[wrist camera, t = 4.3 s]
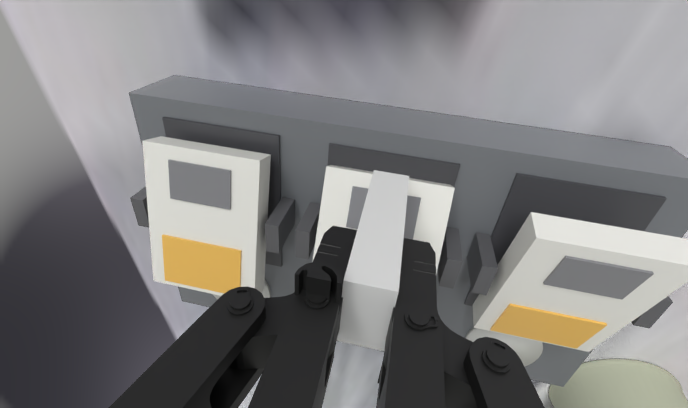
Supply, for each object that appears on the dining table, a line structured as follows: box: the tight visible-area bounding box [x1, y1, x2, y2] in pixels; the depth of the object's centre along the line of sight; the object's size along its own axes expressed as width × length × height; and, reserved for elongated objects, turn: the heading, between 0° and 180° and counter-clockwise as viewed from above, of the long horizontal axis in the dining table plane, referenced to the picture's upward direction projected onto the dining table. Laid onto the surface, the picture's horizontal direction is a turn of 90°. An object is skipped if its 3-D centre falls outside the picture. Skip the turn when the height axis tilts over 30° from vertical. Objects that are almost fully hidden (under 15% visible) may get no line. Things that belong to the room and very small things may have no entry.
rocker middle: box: [312, 165, 455, 274], centre depth 18 cm, size 8×6×2 cm
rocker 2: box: [473, 212, 688, 352], centre depth 17 cm, size 8×6×2 cm
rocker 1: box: [142, 136, 271, 296], centre depth 19 cm, size 8×6×2 cm
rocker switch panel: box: [129, 75, 688, 387], centre depth 22 cm, size 16×28×7 cm, turn 85°
